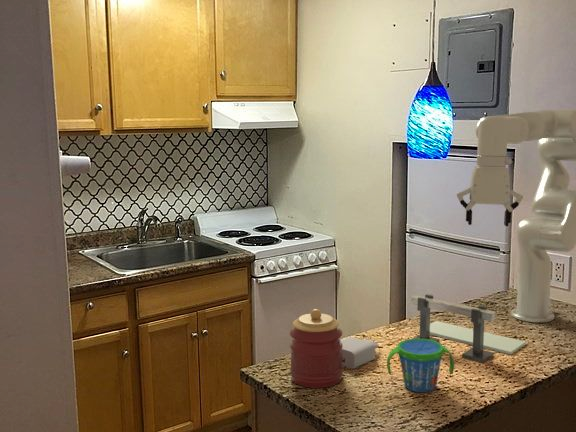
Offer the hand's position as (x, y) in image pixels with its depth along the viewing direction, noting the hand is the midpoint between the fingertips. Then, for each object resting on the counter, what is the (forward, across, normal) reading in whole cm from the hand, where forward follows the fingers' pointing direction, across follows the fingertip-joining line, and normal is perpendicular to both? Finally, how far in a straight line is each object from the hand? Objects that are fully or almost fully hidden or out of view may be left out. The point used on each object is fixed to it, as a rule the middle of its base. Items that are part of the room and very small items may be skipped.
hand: (487, 225), depth 173 cm
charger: (+35, +33, +15) cm, 51 cm away
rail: (+23, +9, +7) cm, 26 cm away
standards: (+34, +9, +7) cm, 36 cm away
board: (+34, +3, -4) cm, 34 cm away
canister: (+36, +42, +31) cm, 63 cm away
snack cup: (+35, +17, +32) cm, 51 cm away
